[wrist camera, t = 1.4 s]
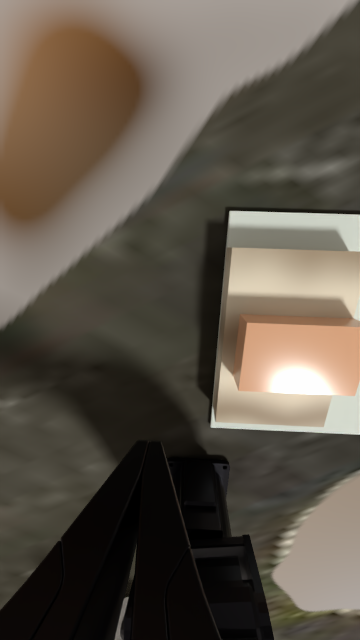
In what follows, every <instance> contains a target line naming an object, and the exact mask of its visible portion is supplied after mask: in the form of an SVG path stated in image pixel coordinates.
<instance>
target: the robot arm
mask: <svg viewBox="0 0 360 640" xmlns="http://www.w3.org/2000/svg"><path fill="white" fill-rule="evenodd" d="M229 471H230V466H229V462H228V461H225V460H208V459H188V458H168V459H166V456H165V452H164V449H163V445H162V442H161V441H153V440H152V441H150V442H149V441H148V440H138V441H137V442H136V443H135V444H134V446H133V447H132V448H131V449H130V451H129V452H128V453H127V455H126V456H125V457H124V458H123V460H122V461H121V462H120V463H119V465H118V466H117V467H116V469H115V470H114V471H113V472H112V474H111V475H110V476H109V477H108V479H107V480H106V481H105V483H104V484H103V485H102V486H101V488H100V489H99V490H98V491H97V493H96V494H95V495H94V496H93V498H92V499H91V500H90V502H89V503H88V504H87V505H86V507H85V508H84V509H83V510H82V512H81V513H80V514H79V516H78V517H77V518H76V519H75V521H74V522H73V523H72V524H71V526H70V527H69V528H68V530H67V531H66V532H65V533H64V535H63V536H62V537H61V541H58V542H57V543H56V545H55V546H54V547H53V548H52V550H51V551H50V552H49V553H48V555H47V556H46V557H45V559H44V560H43V561H42V562H41V563H40V565H39V566H38V567H37V568H36V569H35V571H34V572H33V573H32V574H31V576H30V577H29V578H28V579H27V580H26V582H25V583H24V584H23V585H22V586H21V587H20V589H19V590H18V591H17V592H16V593H15V594H14V595H13V596H12V598H11V599H10V600H9V601H8V602H7V603H6V604H5V605H4V607H3V608H2V609H1V610H0V640H115V635H116V631H117V627H118V622H119V618H120V613H121V609H122V605H123V600H124V596H125V592H126V587H127V583H128V579H129V574H130V570H131V566H132V561H133V557H134V553H135V548H136V544H137V550H136V564H135V575H134V579H133V583H132V587H131V591H130V595H129V599H128V603H127V606H126V610H125V615H124V617H123V620H122V623H121V628H120V636H121V639H122V640H274V637H273V632H272V627H271V622H270V617H269V612H268V608H267V603H266V599H265V595H264V591H263V587H262V583H261V579H260V575H259V571H258V567H257V563H256V560H255V556H254V552H253V548H252V544H251V540H250V536H249V534H248V535H242V536H240V537H232V535H231V529H230V522H229V516H228V510H227V503H226V494H227V486H228V478H229Z"/></svg>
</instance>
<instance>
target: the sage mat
mask: <svg viewBox="0 0 360 640" xmlns="http://www.w3.org/2000/svg"><path fill="white" fill-rule="evenodd" d="M227 248H263V249H294V250H325V251H356V252H360V215H354V214H320V213H286V212H252V211H229V219H228V230H227V242H226V252H227ZM225 263H226V253H225ZM224 274H225V264H224ZM223 285H224V276H223ZM222 297H223V287H222ZM221 308H222V299H221ZM220 319H221V310H220ZM354 319H356V320H359V321H360V296H359V300H358V304H357V307H356V311H355V315H354ZM219 330H220V321H219ZM218 342H219V333H218ZM217 353H218V344H217ZM216 364H217V355H216ZM215 375H216V367H215ZM214 386H215V378H214ZM213 398H214V390H213ZM210 425H211V427H212V428H233V429H254V430H275V431H296V432H317V433H339V434H360V382H359V385H358V388H357V391H356V394H355V396H340V395H332V399H331V402H330V406H329V410H328V413H327V417H326V420H325V424H324V427H308V426H286V425H265V424H243V423H222V422H215V416H214V410H213V401H212V412H211V424H210Z"/></svg>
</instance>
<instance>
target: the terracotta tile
mask: <svg viewBox="0 0 360 640" xmlns="http://www.w3.org/2000/svg"><path fill="white" fill-rule="evenodd" d="M233 377H234V380H235V383H236V386H237V388H238V391H249V392H272V393H295V394H317V395H340V396H355V394H356V391H357V388H358V385H359V382H360V321H359V320H356V319H354V318H330V317H303V316H277V315H251V314H240V318H239V327H238V336H237V344H236V353H235V362H234V370H233Z"/></svg>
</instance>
